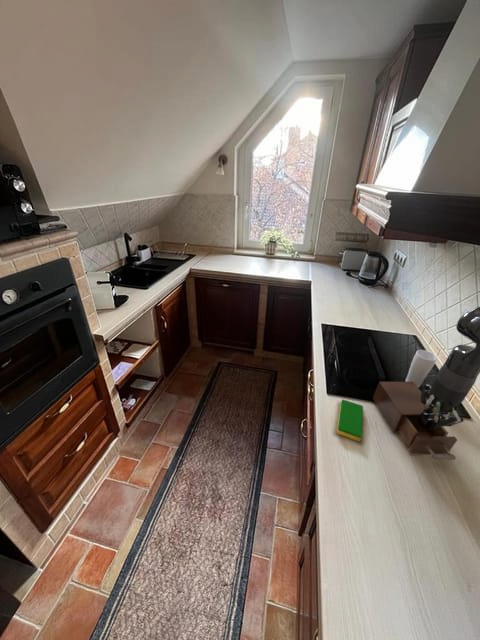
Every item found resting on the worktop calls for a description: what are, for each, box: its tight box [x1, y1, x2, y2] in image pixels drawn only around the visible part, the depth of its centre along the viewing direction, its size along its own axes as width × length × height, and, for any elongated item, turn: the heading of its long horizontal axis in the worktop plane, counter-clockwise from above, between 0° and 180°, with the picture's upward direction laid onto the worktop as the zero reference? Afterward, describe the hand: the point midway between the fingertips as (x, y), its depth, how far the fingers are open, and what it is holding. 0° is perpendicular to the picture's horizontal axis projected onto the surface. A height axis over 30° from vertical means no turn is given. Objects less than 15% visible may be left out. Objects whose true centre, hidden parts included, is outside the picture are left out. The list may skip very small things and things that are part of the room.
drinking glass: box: [404, 349, 438, 389], centre depth 100 cm, size 7×7×15 cm
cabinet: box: [372, 381, 436, 433], centre depth 88 cm, size 15×13×9 cm
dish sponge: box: [336, 399, 364, 442], centre depth 87 cm, size 7×14×2 cm, turn 156°
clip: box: [417, 413, 435, 428], centre depth 76 cm, size 5×3×3 cm, turn 91°
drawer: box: [397, 416, 458, 461], centre depth 79 cm, size 18×11×7 cm, turn 1°
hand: (428, 423), depth 77 cm, fingers closed on clip, 3 cm apart
